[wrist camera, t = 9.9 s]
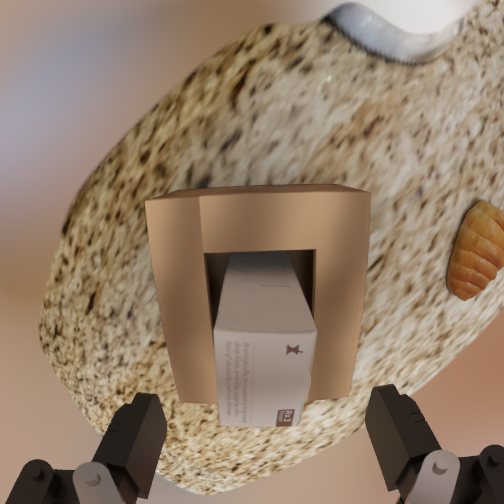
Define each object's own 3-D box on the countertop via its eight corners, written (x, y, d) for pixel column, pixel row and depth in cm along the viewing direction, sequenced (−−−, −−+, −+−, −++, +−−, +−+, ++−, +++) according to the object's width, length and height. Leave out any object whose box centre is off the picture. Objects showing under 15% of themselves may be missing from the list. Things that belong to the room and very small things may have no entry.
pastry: (467, 302, 25) (488, 317, 21) (429, 279, 24) (450, 295, 20) (505, 223, 22) (528, 231, 19) (469, 190, 22) (495, 196, 18)
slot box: (336, 184, 22) (370, 192, 15) (329, 343, 26) (348, 396, 19) (178, 190, 22) (144, 201, 15) (196, 348, 26) (180, 402, 19)
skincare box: (229, 243, 23) (202, 323, 11) (289, 244, 23) (321, 326, 11) (229, 315, 24) (210, 428, 13) (283, 317, 24) (301, 429, 13)
